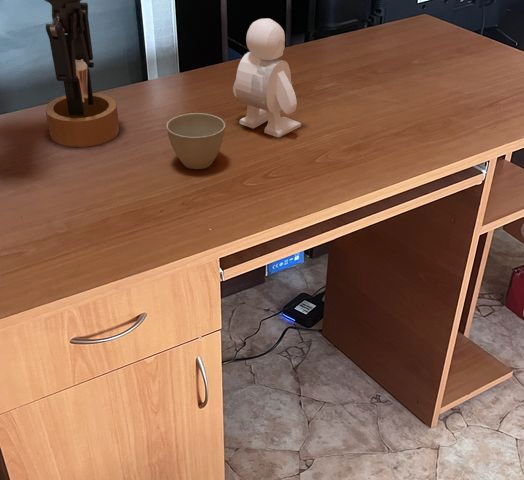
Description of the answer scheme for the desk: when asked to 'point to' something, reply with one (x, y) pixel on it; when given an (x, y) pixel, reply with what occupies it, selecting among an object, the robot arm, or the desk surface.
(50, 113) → the tape
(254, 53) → the toy robot
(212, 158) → the flower pot
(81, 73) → the milkshake
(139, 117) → the desk surface
